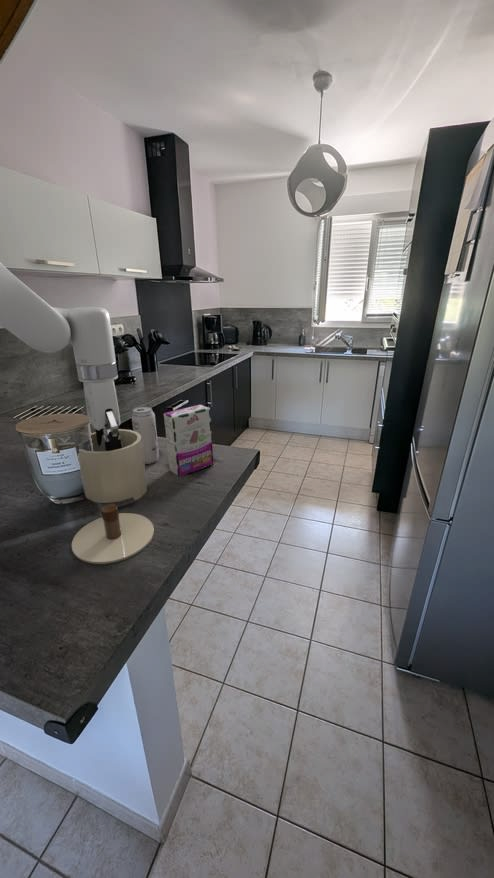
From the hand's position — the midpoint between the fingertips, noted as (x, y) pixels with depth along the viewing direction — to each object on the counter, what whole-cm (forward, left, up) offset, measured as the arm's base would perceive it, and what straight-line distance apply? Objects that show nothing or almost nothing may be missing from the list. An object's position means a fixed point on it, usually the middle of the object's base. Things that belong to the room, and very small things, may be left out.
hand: (110, 450), depth 79 cm
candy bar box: (+20, +2, -11) cm, 23 cm away
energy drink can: (+12, +13, -11) cm, 21 cm away
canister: (0, 0, -11) cm, 11 cm away
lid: (-5, -17, -11) cm, 21 cm away
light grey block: (0, 0, -6) cm, 6 cm away
